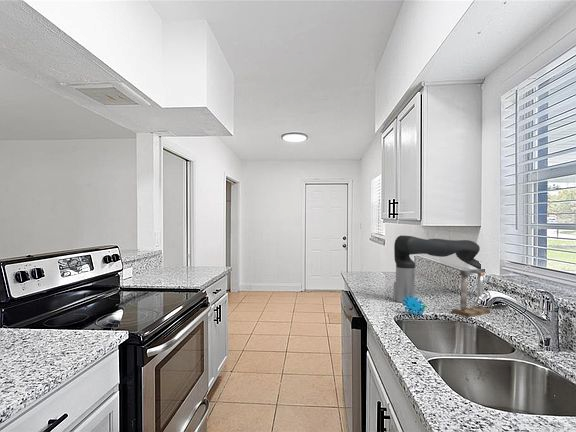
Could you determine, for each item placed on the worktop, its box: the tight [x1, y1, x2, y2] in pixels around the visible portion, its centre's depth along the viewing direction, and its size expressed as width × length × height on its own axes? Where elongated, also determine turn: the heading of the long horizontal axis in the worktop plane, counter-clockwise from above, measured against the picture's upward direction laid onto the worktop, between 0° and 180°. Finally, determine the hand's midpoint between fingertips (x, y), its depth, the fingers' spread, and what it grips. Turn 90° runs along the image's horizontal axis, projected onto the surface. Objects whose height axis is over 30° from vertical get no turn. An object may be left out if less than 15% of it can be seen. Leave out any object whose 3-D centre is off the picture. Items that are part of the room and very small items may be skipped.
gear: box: [402, 295, 427, 317], centre depth 167 cm, size 11×6×10 cm
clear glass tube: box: [476, 273, 485, 307], centre depth 173 cm, size 3×3×16 cm
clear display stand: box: [451, 268, 491, 318], centre depth 169 cm, size 17×8×19 cm, turn 123°
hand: (486, 293), depth 176 cm, fingers closed
